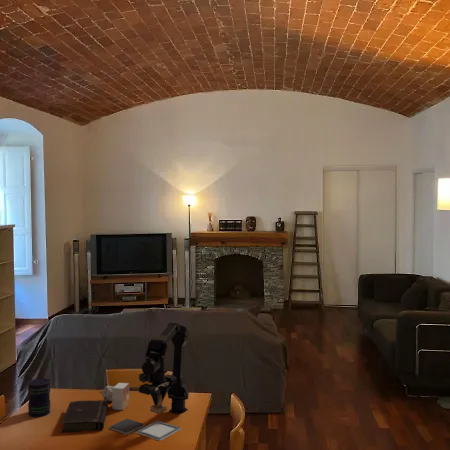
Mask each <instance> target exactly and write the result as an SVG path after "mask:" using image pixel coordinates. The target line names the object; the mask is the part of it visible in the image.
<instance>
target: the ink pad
mask: <svg viewBox="0 0 450 450" xmlns="http://www.w3.org/2000/svg"><path fill="white" fill-rule="evenodd" d="M144 427H146V424H145V423H143V422H139V421H136V420H133V419H130V418H125V419H122V420H120V421H118V422H116V423H115V424H112V425H110V426H109V427H108V429H109V430H112V431H115V432H118V433H120V434H124V435H129V434H131V433H133V432H136V431H138V430H140V429H142V428H144Z"/></svg>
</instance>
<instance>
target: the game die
mask: <svg viewBox="0 0 450 450" xmlns="http://www.w3.org/2000/svg"><path fill="white" fill-rule="evenodd" d="M105 385H106V386H105V387H104V388H103V389H102V391H99V394H101V395H102V398H103V400H107V402H112V388H113V387H114V386H116V385H117V384H116V385H108V384H105Z"/></svg>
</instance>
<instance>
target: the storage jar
mask: <svg viewBox="0 0 450 450" xmlns="http://www.w3.org/2000/svg"><path fill="white" fill-rule="evenodd" d="M27 385H28V386H27V393H28V394H27V395H28V403H27V407H28V408H27V410H28V416H29V417H31V418H41V417H46V416H47V415H50V413H51V406H52V405H51V400H50V399H51V395H50V393H51V380H50V378H46V377H45V378H43V377H42V378H40V377H39V378H34V379H31V380H29V381H28V382H27Z"/></svg>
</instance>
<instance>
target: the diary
mask: <svg viewBox="0 0 450 450" xmlns="http://www.w3.org/2000/svg"><path fill="white" fill-rule="evenodd" d="M67 406H68V407H67V408H66V410H65V413H64V415H63V417H62V419H61V420H62V421H61V423H60V424H63V427H62V429H61V432H60V433H61V434H64V433H67V434H68V433H80V432H81V433H82V431H97V432H98V430H100V429H101V431H103V430H104V426H105V423H106V418H107V413H108V409H109V408H108V407H109V403H108V401H107V400H104V399H103V400H102V399H101V400H89V399H88V400H74V401H70V402H69V404H68V405H67ZM101 426H102V427H101Z"/></svg>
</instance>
